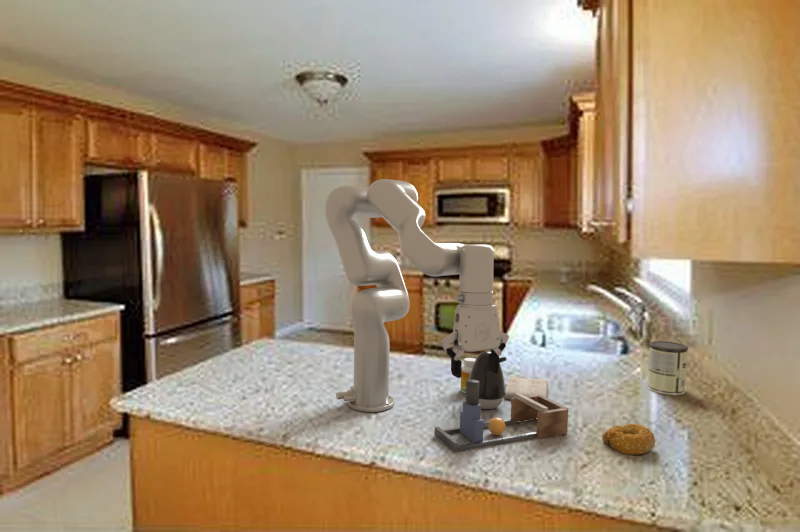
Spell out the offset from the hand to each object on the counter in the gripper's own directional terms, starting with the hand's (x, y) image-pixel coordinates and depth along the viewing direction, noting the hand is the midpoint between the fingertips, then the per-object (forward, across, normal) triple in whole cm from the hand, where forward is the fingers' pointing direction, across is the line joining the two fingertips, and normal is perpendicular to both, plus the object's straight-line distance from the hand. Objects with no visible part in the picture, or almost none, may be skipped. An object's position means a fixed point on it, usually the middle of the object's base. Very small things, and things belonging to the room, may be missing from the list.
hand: (475, 374), depth 115 cm
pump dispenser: (+15, +15, +18) cm, 28 cm away
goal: (+16, +19, +1) cm, 24 cm away
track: (+15, +4, +1) cm, 16 cm away
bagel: (+16, +31, -15) cm, 38 cm away
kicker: (+15, 0, +1) cm, 15 cm away
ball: (+14, +7, +1) cm, 15 cm away
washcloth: (+16, +33, +24) cm, 43 cm away
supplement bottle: (+15, +17, +30) cm, 37 cm away
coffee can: (+16, +75, +11) cm, 77 cm away
